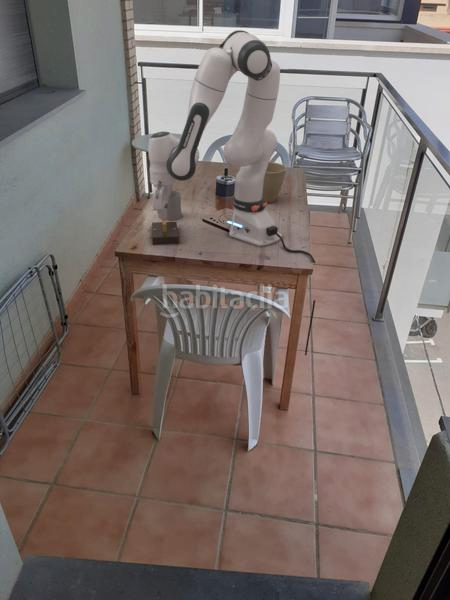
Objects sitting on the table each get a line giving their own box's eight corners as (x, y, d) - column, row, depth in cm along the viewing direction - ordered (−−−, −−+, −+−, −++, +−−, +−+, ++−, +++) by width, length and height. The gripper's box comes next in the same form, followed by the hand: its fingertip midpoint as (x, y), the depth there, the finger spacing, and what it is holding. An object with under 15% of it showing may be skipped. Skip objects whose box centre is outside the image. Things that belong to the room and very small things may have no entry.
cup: (173, 210, 209) (172, 189, 203) (185, 216, 204) (184, 194, 198) (157, 215, 204) (156, 193, 198) (170, 221, 199) (169, 199, 193)
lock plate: (178, 243, 182) (178, 236, 180) (152, 244, 181) (152, 237, 179) (176, 228, 194) (176, 221, 192) (152, 229, 192) (151, 222, 191)
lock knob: (166, 231, 184) (166, 223, 182) (163, 231, 183) (162, 223, 182) (166, 226, 188) (165, 218, 186) (162, 226, 188) (162, 218, 186)
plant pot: (267, 208, 213) (270, 174, 204) (245, 199, 222) (246, 165, 213) (289, 201, 222) (293, 167, 213) (267, 192, 231) (269, 159, 222)
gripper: (165, 188, 165) (166, 224, 173) (174, 169, 182) (175, 202, 190) (147, 186, 166) (149, 223, 173) (158, 168, 183) (160, 201, 190)
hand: (163, 212), depth 182 cm, fingers open, 8 cm apart
